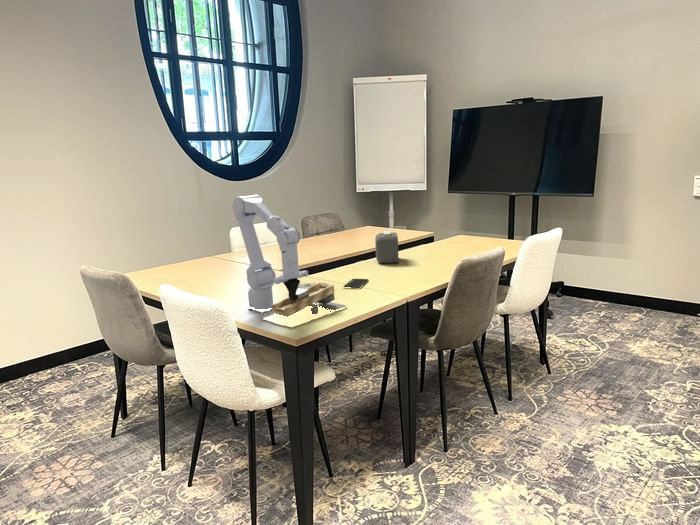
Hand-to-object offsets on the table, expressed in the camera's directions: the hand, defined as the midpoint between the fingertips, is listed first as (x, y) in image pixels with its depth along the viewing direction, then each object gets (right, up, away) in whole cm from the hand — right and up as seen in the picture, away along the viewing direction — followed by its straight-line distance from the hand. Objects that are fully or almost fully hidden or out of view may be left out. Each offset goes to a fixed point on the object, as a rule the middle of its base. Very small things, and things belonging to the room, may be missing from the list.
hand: (292, 299), depth 189 cm
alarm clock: (+40, +14, +91) cm, 100 cm away
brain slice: (+3, -1, +33) cm, 33 cm away
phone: (+23, +3, +45) cm, 51 cm away
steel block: (+2, -1, +3) cm, 4 cm away
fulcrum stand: (+4, -6, +6) cm, 9 cm away
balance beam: (+4, -4, +6) cm, 8 cm away
